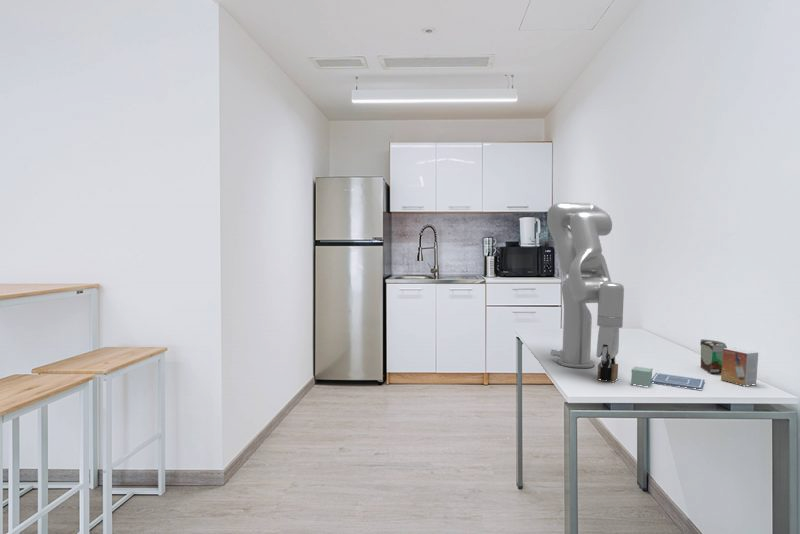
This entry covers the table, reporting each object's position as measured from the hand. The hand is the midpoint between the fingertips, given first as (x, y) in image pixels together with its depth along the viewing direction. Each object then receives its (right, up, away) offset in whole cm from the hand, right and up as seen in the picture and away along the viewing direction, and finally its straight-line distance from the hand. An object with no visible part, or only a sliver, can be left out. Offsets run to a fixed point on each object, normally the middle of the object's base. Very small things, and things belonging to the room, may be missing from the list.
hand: (607, 377), depth 169 cm
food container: (+43, -1, +14) cm, 45 cm away
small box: (+41, -2, -1) cm, 41 cm away
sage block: (+8, -1, -5) cm, 10 cm away
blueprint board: (+21, -1, -2) cm, 21 cm away
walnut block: (0, -1, 0) cm, 1 cm away
